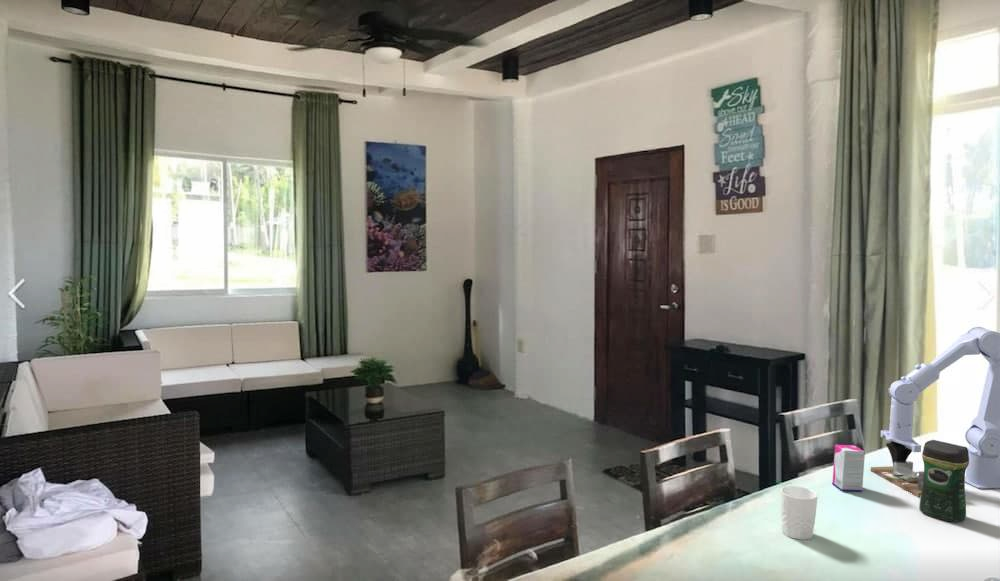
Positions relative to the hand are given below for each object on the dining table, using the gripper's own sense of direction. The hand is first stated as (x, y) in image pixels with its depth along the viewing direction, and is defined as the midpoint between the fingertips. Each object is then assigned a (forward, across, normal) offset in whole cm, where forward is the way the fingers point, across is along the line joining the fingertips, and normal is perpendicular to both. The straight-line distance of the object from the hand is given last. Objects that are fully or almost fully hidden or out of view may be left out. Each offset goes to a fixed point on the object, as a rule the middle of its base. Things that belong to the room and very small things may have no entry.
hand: (898, 468), depth 196 cm
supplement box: (+3, +7, -20) cm, 21 cm away
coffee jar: (+3, +26, -7) cm, 27 cm away
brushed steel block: (+1, +6, -1) cm, 6 cm away
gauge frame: (+2, +5, 0) cm, 6 cm away
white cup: (+3, +33, -49) cm, 59 cm away
